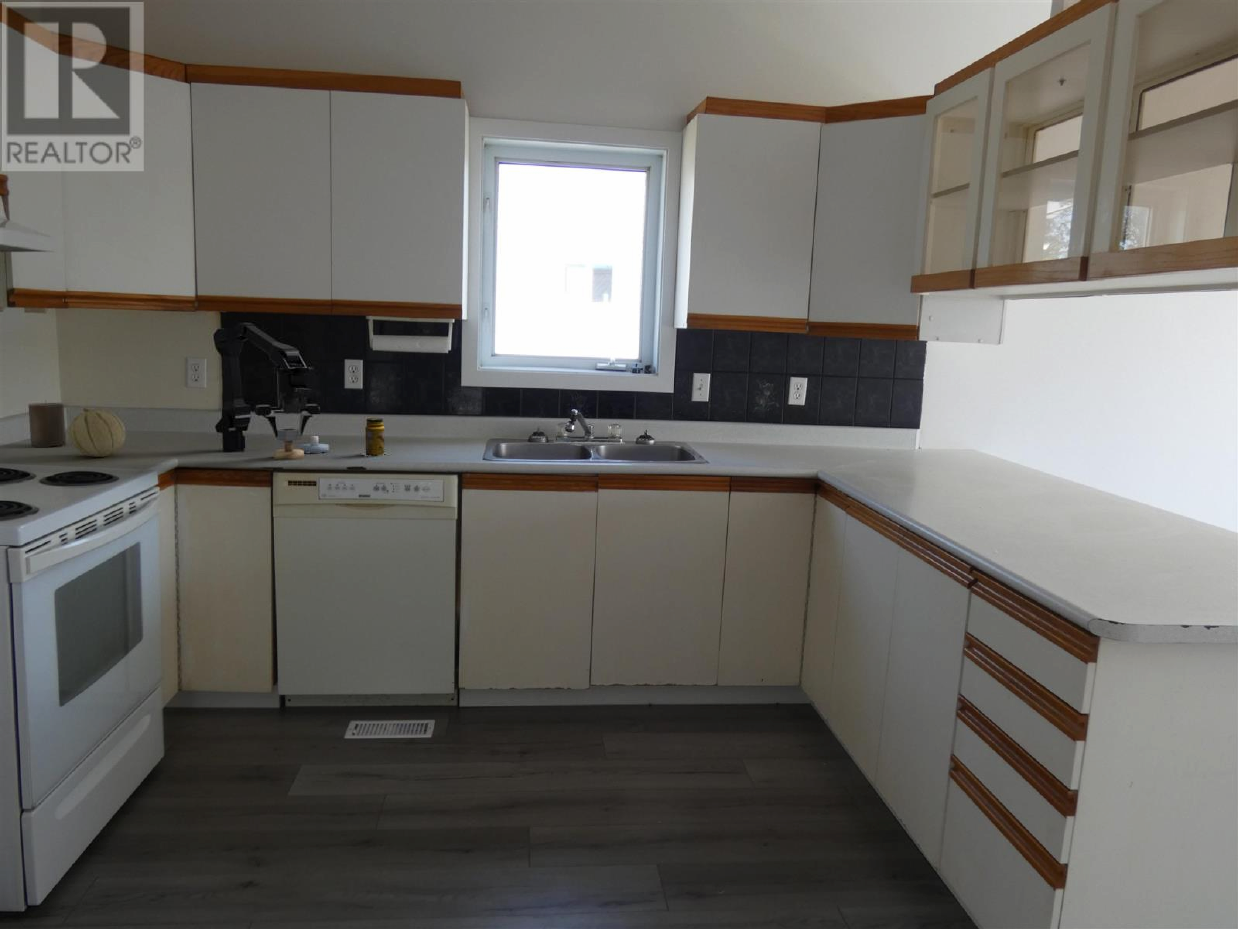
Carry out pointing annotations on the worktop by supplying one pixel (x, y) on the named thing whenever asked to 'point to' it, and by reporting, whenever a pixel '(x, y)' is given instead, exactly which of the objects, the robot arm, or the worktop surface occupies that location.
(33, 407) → the pillar candle
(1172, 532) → the worktop surface
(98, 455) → the cantaloupe
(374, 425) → the condiment
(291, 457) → the stand
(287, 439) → the ring
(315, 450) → the hub
